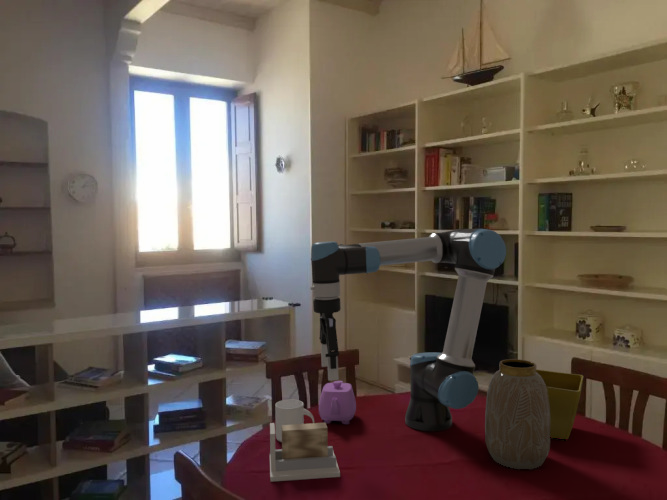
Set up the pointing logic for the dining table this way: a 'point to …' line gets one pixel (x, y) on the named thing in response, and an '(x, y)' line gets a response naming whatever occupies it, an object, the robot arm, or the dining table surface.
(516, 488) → the dining table surface
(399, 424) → the dining table surface
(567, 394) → the flower pot
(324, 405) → the teapot
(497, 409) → the vase
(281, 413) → the mug
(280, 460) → the white stand
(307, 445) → the door panel
